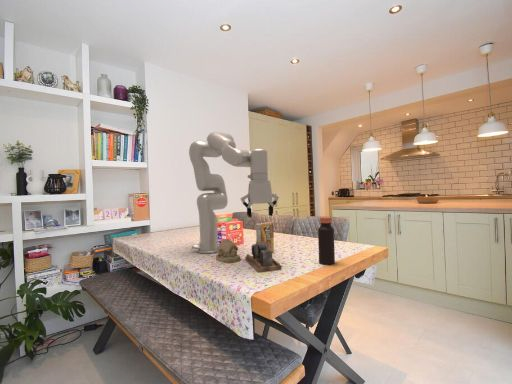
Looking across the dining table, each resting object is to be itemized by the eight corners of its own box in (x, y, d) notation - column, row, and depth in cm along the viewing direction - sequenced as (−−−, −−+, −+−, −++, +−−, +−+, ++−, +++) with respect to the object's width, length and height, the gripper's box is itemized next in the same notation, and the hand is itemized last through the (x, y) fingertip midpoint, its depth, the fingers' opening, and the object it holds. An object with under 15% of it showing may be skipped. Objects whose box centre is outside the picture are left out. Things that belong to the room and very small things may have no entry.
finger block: (259, 263, 117) (258, 244, 117) (255, 259, 123) (254, 242, 122) (269, 262, 118) (268, 243, 118) (264, 258, 124) (264, 241, 124)
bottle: (327, 266, 115) (326, 219, 114) (315, 262, 120) (314, 217, 120) (338, 262, 119) (336, 217, 118) (325, 259, 124) (324, 216, 124)
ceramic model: (211, 258, 133) (210, 238, 133) (231, 254, 140) (230, 235, 140) (226, 264, 122) (225, 242, 122) (246, 259, 129) (245, 238, 129)
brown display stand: (258, 272, 109) (257, 254, 109) (245, 259, 129) (245, 244, 128) (281, 269, 112) (280, 251, 112) (265, 257, 131) (265, 242, 131)
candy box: (269, 250, 145) (268, 221, 145) (274, 251, 142) (273, 222, 142) (256, 253, 140) (255, 223, 139) (261, 254, 137) (260, 224, 136)
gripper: (242, 177, 113) (243, 218, 114) (280, 177, 118) (281, 216, 119) (238, 178, 121) (239, 216, 121) (274, 177, 126) (275, 214, 126)
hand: (260, 216), depth 120 cm, fingers open, 9 cm apart
